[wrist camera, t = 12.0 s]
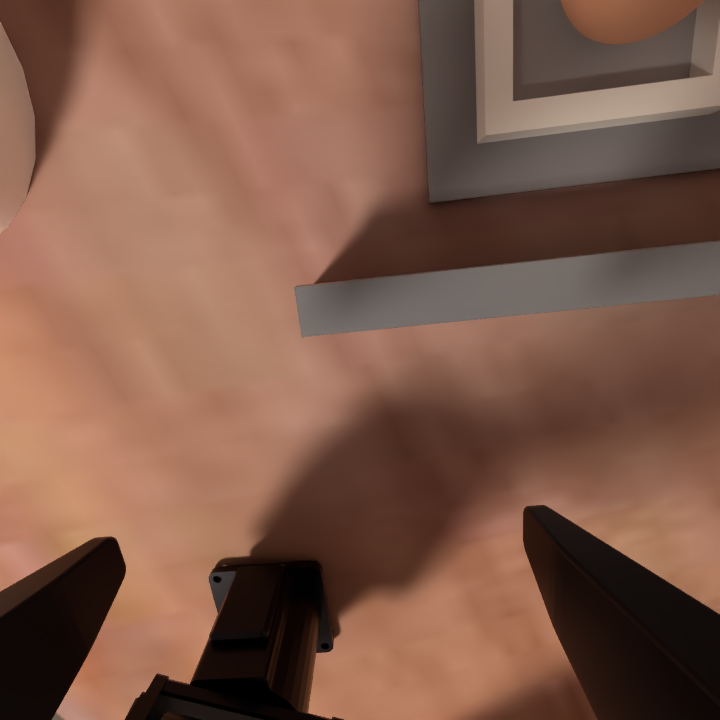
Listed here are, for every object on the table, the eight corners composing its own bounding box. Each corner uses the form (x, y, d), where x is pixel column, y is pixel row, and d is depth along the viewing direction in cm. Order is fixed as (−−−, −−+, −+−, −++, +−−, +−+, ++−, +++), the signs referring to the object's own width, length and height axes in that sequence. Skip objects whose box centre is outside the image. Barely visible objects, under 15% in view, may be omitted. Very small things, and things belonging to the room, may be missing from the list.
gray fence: (860, 260, 17) (1020, 264, 13) (317, 316, 18) (301, 336, 14) (870, 217, 16) (1041, 206, 12) (312, 277, 18) (294, 287, 13)
